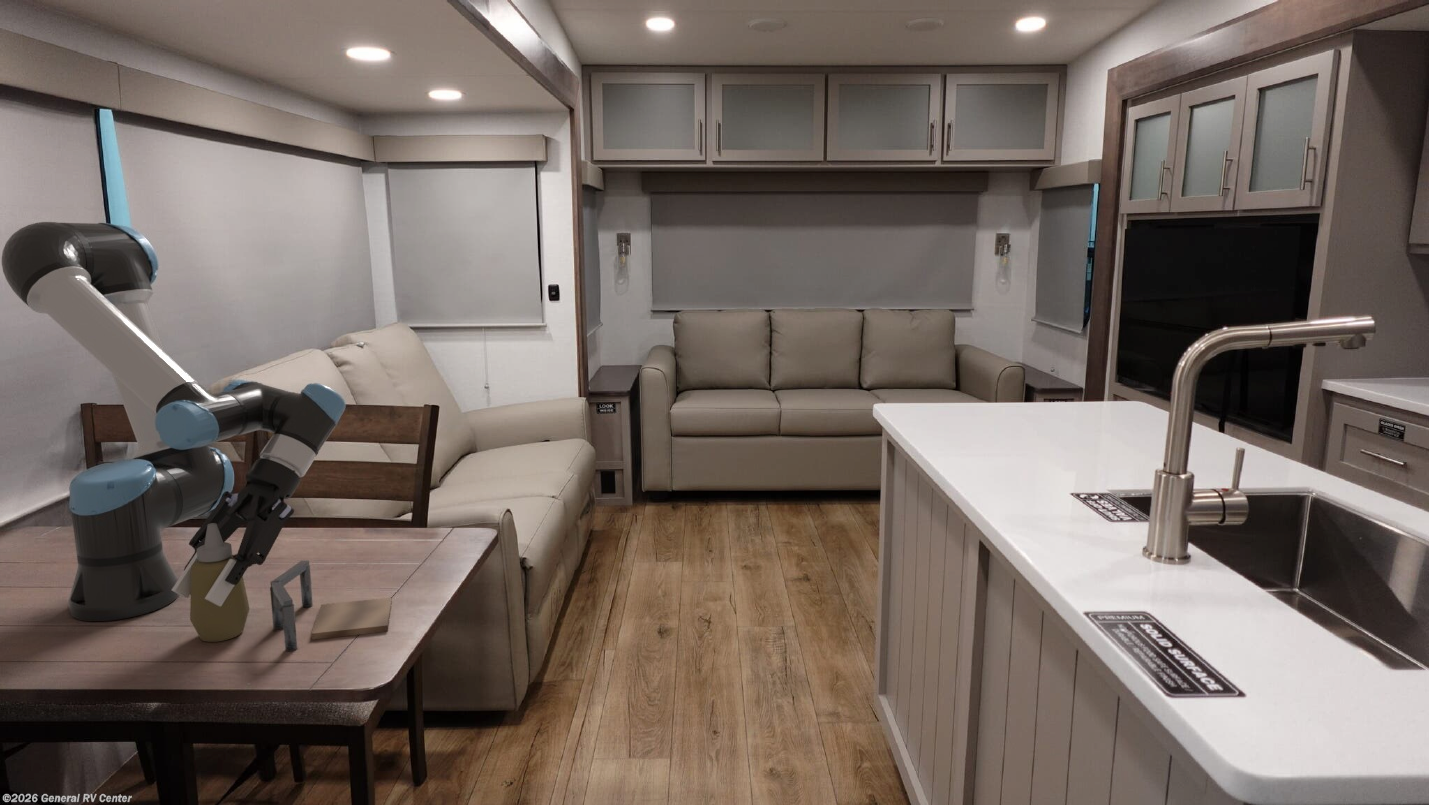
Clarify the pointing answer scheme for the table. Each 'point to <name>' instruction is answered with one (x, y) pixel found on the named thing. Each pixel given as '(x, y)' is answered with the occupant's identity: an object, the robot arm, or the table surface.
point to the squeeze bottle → (204, 573)
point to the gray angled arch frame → (289, 601)
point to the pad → (352, 618)
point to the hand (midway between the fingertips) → (196, 598)
